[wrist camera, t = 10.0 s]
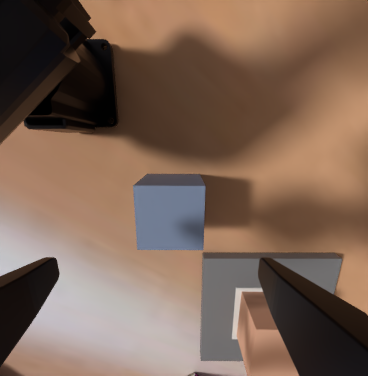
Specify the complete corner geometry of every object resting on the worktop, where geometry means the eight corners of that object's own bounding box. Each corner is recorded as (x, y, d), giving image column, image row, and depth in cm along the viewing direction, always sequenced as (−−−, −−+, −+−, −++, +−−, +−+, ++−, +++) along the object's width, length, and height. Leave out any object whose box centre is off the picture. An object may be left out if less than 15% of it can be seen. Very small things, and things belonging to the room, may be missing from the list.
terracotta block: (241, 291, 19) (256, 329, 15) (298, 292, 19) (327, 330, 15) (236, 335, 20) (248, 380, 17) (289, 336, 20) (313, 381, 17)
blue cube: (147, 173, 17) (133, 185, 12) (199, 173, 17) (205, 185, 12) (149, 221, 18) (137, 249, 14) (198, 222, 18) (203, 250, 14)
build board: (202, 252, 19) (203, 259, 18) (334, 252, 19) (343, 259, 18) (200, 351, 23) (200, 361, 21) (312, 351, 22) (318, 362, 21)
